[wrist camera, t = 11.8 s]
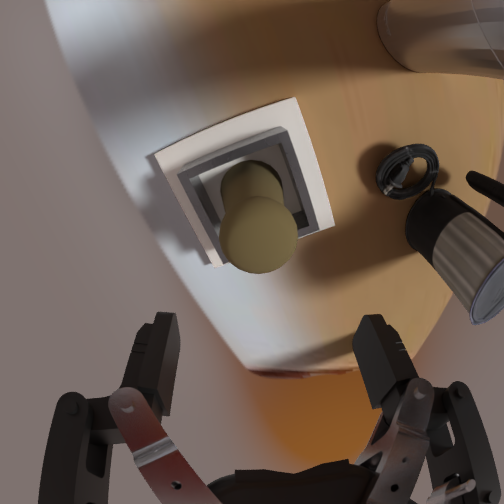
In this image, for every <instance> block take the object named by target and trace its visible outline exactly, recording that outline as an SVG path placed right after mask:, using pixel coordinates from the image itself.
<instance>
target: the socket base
mask: <svg viewBox="0 0 504 504" xmlns="http://www.w3.org/2000/svg"><path fill="white" fill-rule="evenodd" d="M279 126H282V127H283V128H285V129H286V130H288V133H289V136H290V139H291V141H292V144H293V147H294V150H295V153H296V156H297V159H298V162H299V165H300V168H301V171H302V174H303V177H304V180H305V183H306V186H307V189H308V192H309V195H310V199H311V202H312V205H313V208H314V212H315V215H316V219H317V222H318V225H319V229H320V230H319V231H321V230H324V229H327V228H330V227H332V226H335V223H334V219H333V215H332V211H331V207H330V204H329V200H328V196H327V193H326V189H325V186H324V182H323V179H322V175H321V172H320V169H319V165H318V162H317V159H316V156H315V152H314V149H313V146H312V143H311V140H310V137H309V134H308V131H307V128H306V125H305V122H304V120H303V117H302V114H301V111H300V108H299V106H298V103H297V100H296V98H295V97H291V98H288V99H285V100H282V101H279V102H275V103H272V104H269V105H267V106H264V107H261V108H258V109H255V110H252V111H250V112H247V113H244V114H242V115H239V116H236V117H234V118H231V119H229V120H226V121H224V122H221V123H219V124H216V125H214V126H212V127H209V128H207V129H205V130H202V131H200V132H198V133H196V134H194V135H191V136H189V137H187V138H185V139H183V140H181V141H179V142H176V143H174V144H172V145H170V146H168V147H166V148H164V149H162V150H160V151H158V152H157V153H155V154H154V155H155V157H156V159H157V161H158V163H159V165H160V167H161V169H162V171H163V173H164V175H165V177H166V179H167V181H168V183H169V185H170V186H171V188H172V190H173V192H174V194H175V196H176V198H177V200H178V202H179V204H180V206H181V207H182V209H183V211H184V213H185V215H186V217H187V219H188V221H189V222H190V224H191V226H192V228H193V230H194V232H195V234H196V235H197V237H198V239H199V241H200V243H201V244H202V246H203V248H204V250H205V252H206V253H207V255H208V257H209V259H210V261H211V262H212V264H213V266H214V268H217V267H220V266H222V265H225V264H223V263H222V261H221V259H220V257H219V255H218V254H217V252H216V250H215V248H214V246H213V244H212V242H211V240H210V239H209V237H208V235H207V233H206V231H205V229H204V227H203V225H202V223H201V221H200V219H199V218H198V216H197V214H196V212H195V210H194V208H193V206H192V204H191V202H190V200H189V198H188V196H187V194H186V192H185V190H184V188H183V186H182V184H181V182H180V180H179V178H178V176H177V173H178V172H179V171H180V169H181V168H182V167H183V165H184V164H186V163H189V162H191V161H193V160H195V159H197V158H200V157H202V156H204V155H207V154H209V153H211V152H214V151H216V150H218V149H221V148H223V147H226V146H228V145H231V144H233V143H236V142H238V141H241V140H243V139H246V138H249V137H251V136H254V135H257V134H259V133H262V132H265V131H268V130H271V129H274V128H276V127H279ZM247 160H257V161H262V162H264V163H266V164H269V165H270V166H272V167H273V168H274V169H275V170H276V171H277V172H278V174H279V176H280V178H281V180H282V187H283V199H284V206H285V207H286V208H287V209H288V210H289V211H290V212H291V214H293V213H296V212H299V211H302V210H301V207H300V204H299V201H298V198H297V195H296V192H295V189H294V186H293V184H292V181H291V178H290V175H289V172H288V169H287V166H286V164H285V161H284V158H283V155H282V153H281V150H280V147H279V145H278V144H276V145H273V146H270V147H267V148H264V149H262V150H259V151H256V152H254V153H251V154H248V155H246V156H243V157H241V158H238V159H235V160H233V161H230V162H228V163H225V164H223V165H221V166H218V167H216V168H213V169H211V170H209V171H206V172H204V173H202V174H199V177H200V180H201V182H202V184H203V186H204V188H205V190H206V192H207V194H208V196H209V198H210V200H211V202H212V204H213V206H214V208H215V211H216V213H217V215H218V217H219V219H220V221H221V222H222V220H223V218H224V215H225V210H224V206H223V201H222V197H221V193H220V188H221V181H222V179H223V177H224V175H225V173H226V172H227V171H228V170H229V169H230V168H231V167H232V166H234V165H236V164H237V163H239V162H241V161H247ZM316 232H318V231H316ZM316 232H314V233H316ZM311 234H313V233H311ZM308 235H310V234H308ZM305 236H307V235H305ZM302 237H304V236H302ZM300 238H301V237H300ZM298 239H299V238H298ZM229 263H230V262H229ZM226 264H228V263H226Z"/></svg>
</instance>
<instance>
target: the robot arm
mask: <svg viewBox="0 0 504 504" xmlns="http://www.w3.org/2000/svg"><path fill="white" fill-rule="evenodd" d="M377 28H378V32H379V35H380V38H381V40H382V42H383V44H384V46H385V47H386V49H387V50H388V52H389V53H390V54H391V55H392V57H393V58H394V59H395V60H396V61H398V62H399V63H400V64H401V65H403V66H404V67H406V68H407V69H410V70H412V71H415V72H420V73H447V74H463V75H474V76H482V77H490V78H497V79H503V80H504V0H391V1H389V2H387V3H385V4H384V5H383V6H382V7H381V8H380V10H379V12H378V16H377ZM405 349H406V348H405V346H404V344H403V343H402V340H401V338H400V336H399V334H398V332H397V331H396V330H395V329H394V328H393V327H392V326H391V325H387V324H386V322H385V320H384V318H383V316H382V315H381V314H373V315H364V316H363V318H362V320H361V322H360V324H359V327H358V329H357V331H356V333H355V335H354V338H353V351H354V354H355V357H356V360H357V362H358V365H359V368H360V371H361V374H362V377H363V380H364V384H365V387H366V390H367V393H368V396H369V399H370V402H371V405H372V409H376V408H382V411H383V412H382V413H381V415H380V417H379V419H378V422H377V424H376V426H375V429H374V431H373V433H372V435H371V438H370V440H369V442H368V444H367V446H366V448H365V449H364V451H363V452H362V453H361V454H360V456H359V457H358V459H357V460H356V462H355V464H349V460H348V459H345V460H341V461H335V462H329V463H324V464H320V465H318V466H315V467H313V468H310V469H307V470H305V471H302V472H299V473H295V474H291V473H284V472H277V471H270V470H264V469H262V470H235V474H232V475H228V476H225V477H221V478H219V479H217V480H215V481H213V482H211V483H210V484H208V485H207V486H206V485H205V483H204V482H203V481H202V480H201V479H200V477H199V476H198V475H197V474H196V473H195V471H194V470H193V469H192V467H191V466H190V465H189V464H188V462H187V461H186V460H185V458H184V457H183V455H182V454H181V453H180V452H179V450H178V449H177V447H176V446H175V444H174V443H173V442H172V441H171V439H170V438H169V436H168V435H167V433H166V432H165V430H164V429H163V427H162V426H161V420H162V416H170V409H171V403H172V396H173V389H174V382H175V376H176V370H177V364H178V358H179V352H180V334H179V328H178V323H177V317H176V314H175V313H169V312H157V314H156V316H155V320H154V323H153V324H148V323H145V324H144V325H143V326H142V327H141V328H140V330H139V331H138V332H137V335H136V338H135V341H134V344H133V347H132V350H131V353H130V357H129V360H128V363H127V367H126V370H125V374H124V377H123V381H122V384H121V386H120V388H119V389H117V390H116V391H114V392H113V393H112V395H110V396H107V397H102V398H92V399H85V398H84V396H82V395H81V394H79V393H77V392H68V393H66V394H64V395H62V396H61V397H60V399H59V400H58V402H57V405H56V409H55V412H54V416H53V420H52V424H51V428H50V432H49V437H48V441H47V446H46V451H45V456H44V461H43V467H42V474H41V481H40V489H39V499H38V504H108V490H109V477H110V466H111V457H112V448H113V444H120V443H126V444H127V446H128V447H129V449H130V451H131V453H132V455H133V457H134V462H135V464H136V466H137V468H138V469H139V471H140V472H141V474H142V476H143V477H144V479H145V480H146V482H147V483H148V485H149V486H150V488H151V489H152V491H153V492H154V494H155V495H156V496H157V498H158V499H159V500H160V502H161V503H162V504H417V503H416V502H414V501H413V500H411V499H410V496H411V494H412V491H413V489H414V487H415V484H416V482H417V479H418V476H419V474H420V471H421V468H422V465H423V462H424V459H425V456H426V459H427V463H428V468H429V472H430V477H431V482H432V488H433V491H432V493H431V496H430V497H428V499H427V501H426V503H427V504H498V503H499V500H500V497H501V489H500V483H499V479H498V474H497V470H496V466H495V462H494V458H493V455H492V451H491V448H490V444H489V442H488V438H487V435H486V432H485V429H484V426H483V423H482V420H481V417H480V415H479V412H478V410H477V407H476V404H475V402H474V399H473V397H472V394H471V392H470V390H469V388H468V387H467V385H466V384H464V383H463V382H460V381H456V382H453V383H452V384H451V385H450V386H449V387H448V388H438V387H433V386H432V385H431V383H430V382H429V381H427V380H426V379H423V378H419V376H418V374H417V372H416V370H415V368H414V366H413V363H412V361H411V359H410V357H409V355H408V353H407V350H405ZM448 421H450V424H451V427H452V430H453V434H454V437H455V444H454V446H453V443H452V440H451V437H450V433H449V430H448V427H447V424H446V423H447V422H448Z"/></svg>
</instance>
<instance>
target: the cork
mask: <svg viewBox="0 0 504 504" xmlns="http://www.w3.org/2000/svg"><path fill="white" fill-rule="evenodd" d="M220 193H221V197H222V201H223V206H224V210H225V215H224V218H223V220H222V222H221V224H220V231H219V242H220V245H221V249H222V252H223V254H224V255H225V257H226V258H227V260H228V261H229V262H230V263H231V264H233V265H234V266H235V267H237V268H238V269H240V270H243V271H245V272H248V273H255V274H262V273H268V272H271V271H274V270H276V269H278V268H280V267H281V266H282V265H283V264H285V263H286V262H287V261H288V260H289V259H290V257H291V256H292V254H293V253H294V251H295V249H296V245H297V241H298V231H297V225H296V222H295V220H294V218H293V216H292V214H291V212H290V211H289V210H288V209H287V208H286V207H285V206H284V199H283V187H282V180H281V178H280V176H279V174H278V172H277V171H276V170H275V169H274V168H273V167H272V166H270V165H269V164H266V163H264V162H262V161H257V160H247V161H241V162H239V163H237V164H236V165H234V166H232V167H231V168H230V169H229V170H228V171H227V172H226V173H225V175H224V177H223V179H222V181H221V188H220Z"/></svg>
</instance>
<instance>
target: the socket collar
mask: <svg viewBox="0 0 504 504" xmlns="http://www.w3.org/2000/svg"><path fill="white" fill-rule="evenodd" d="M276 144H278V145H279V147H280V150H281V153H282V155H283V158H284V161H285V164H286V166H287V169H288V172H289V175H290V178H291V181H292V184H293V186H294V189H295V192H296V195H297V198H298V201H299V204H300V207H301V210H302V211H299V212H296V213H293V214H292V216H293V218H294V220H295V222H296V225H297V231H298V238H300V237H302V236H305V235H308V234H311V233H314V232H316V231H319V230H320V229H319V225H318V222H317V219H316V215H315V212H314V208H313V205H312V202H311V199H310V195H309V192H308V189H307V186H306V183H305V180H304V177H303V174H302V171H301V168H300V165H299V162H298V159H297V156H296V153H295V150H294V147H293V144H292V141H291V139H290V136H289V133H288V130H286V129H285V128H283V127H282V126H279V127H276V128H274V129H271V130H268V131H265V132H262V133H259V134H257V135H254V136H251V137H249V138H246V139H243V140H241V141H238V142H236V143H233V144H231V145H228V146H226V147H223V148H221V149H218V150H216V151H214V152H211V153H209V154H207V155H204V156H202V157H200V158H197V159H195V160H193V161H191V162H189V163H186V164H184V165H183V167H182V168H181V169H180V171H179V172H178V173H177V176H178V178H179V180H180V182H181V184H182V186H183V188H184V190H185V192H186V194H187V196H188V198H189V200H190V202H191V204H192V206H193V208H194V210H195V212H196V214H197V216H198V218H199V219H200V221H201V223H202V225H203V227H204V229H205V231H206V233H207V235H208V237H209V239H210V240H211V242H212V244H213V246H214V248H215V250H216V252H217V254H218V255H219V257H220V259H221V261H222V263H223V264H226V263H229V261H228V260H227V258H226V257H225V255H224V254H223V252H222V249H221V245H220V242H219V231H220V224H221V221H220V219H219V217H218V215H217V213H216V211H215V208H214V206H213V204H212V202H211V200H210V198H209V196H208V194H207V192H206V190H205V188H204V186H203V184H202V182H201V180H200V177H199V174H202V173H204V172H206V171H209V170H211V169H213V168H216V167H218V166H221V165H223V164H225V163H228V162H230V161H233V160H235V159H238V158H241V157H243V156H246V155H248V154H251V153H254V152H256V151H259V150H262V149H264V148H267V147H270V146H273V145H276Z"/></svg>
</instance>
